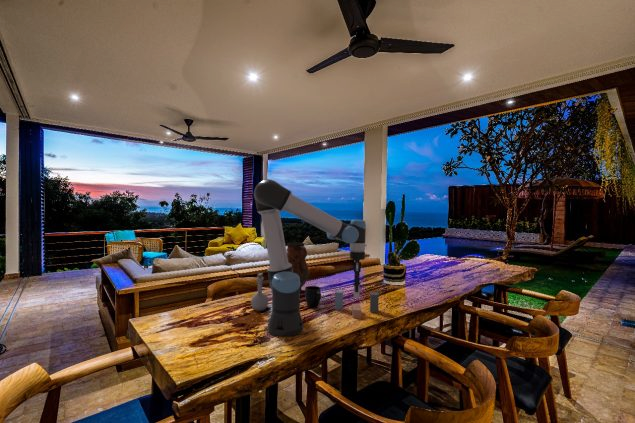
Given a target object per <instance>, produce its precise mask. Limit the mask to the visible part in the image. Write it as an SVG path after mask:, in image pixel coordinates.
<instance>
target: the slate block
mask: <svg viewBox="0 0 635 423" xmlns="http://www.w3.org/2000/svg"><path fill="white" fill-rule="evenodd" d="M343 309H344V290H338V289H336V290H335V291H334V311H343Z"/></svg>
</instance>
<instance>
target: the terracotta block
mask: <svg viewBox="0 0 635 423" xmlns="http://www.w3.org/2000/svg"><path fill="white" fill-rule="evenodd" d="M351 315H352V318H353V319H362V307H361V304H360V303H351Z"/></svg>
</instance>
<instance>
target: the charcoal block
mask: <svg viewBox="0 0 635 423" xmlns="http://www.w3.org/2000/svg"><path fill="white" fill-rule="evenodd" d="M369 294H370V295H369V299H370V300H369V313H373V314H374V313H376V314H379V298H380V297H379V296H380V295H379V292H373V291H372V292H370V293H369Z"/></svg>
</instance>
